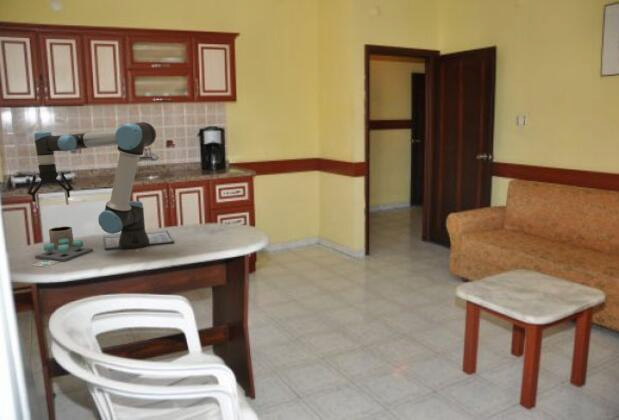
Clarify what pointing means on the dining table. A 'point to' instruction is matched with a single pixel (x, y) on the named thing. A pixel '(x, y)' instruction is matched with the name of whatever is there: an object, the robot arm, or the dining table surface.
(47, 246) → the button
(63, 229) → the planter
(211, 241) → the dining table surface
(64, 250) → the button
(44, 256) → the board
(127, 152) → the robot arm
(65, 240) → the button
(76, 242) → the button
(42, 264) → the card
